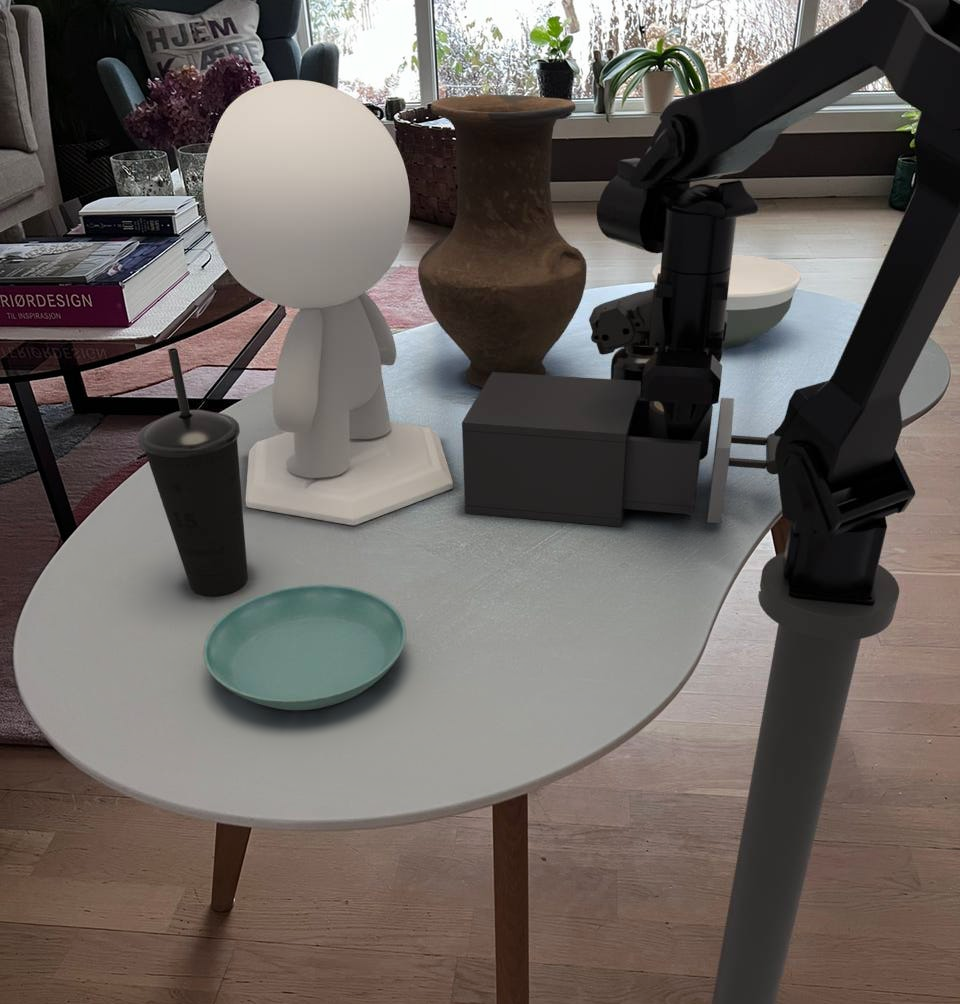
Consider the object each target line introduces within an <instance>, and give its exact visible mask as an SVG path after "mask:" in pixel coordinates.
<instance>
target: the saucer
mask: <svg viewBox="0 0 960 1004" xmlns="http://www.w3.org/2000/svg"><path fill="white" fill-rule="evenodd" d="M406 640H407V628H406V624H405V620H404V619H403V617H402V616H401V613H399V611H398V610H397V609H396V608H395V607H394V606H393V605H392V604H391V603H390V602H388V601H387V600H386V599H385V598H382V597H380V596H378V595H376V594H374V593H371V592H369V591H366V590H363V589H359V588H356V587H351V586H343V585H339V584H306V585H297V586H296V585H295V586H290V587H285V588H281V589H276V590H273V591H272V590H271V591H270V592H267V593H263V594H261V595H258V596H255V597H252V598H251V599H248V600H246V601H244V602H243V603H241V604H240V603H239V604H238V605H237V606H235V607H233V608H232V609H230V610H229V611H228V612H227V613H225V614H224V615H223V616H222V617H220V619H219V620H217V622H216V623H215V624H214V625H213V626H212V627H211V629H210V630H209V632H208V634H207V635H206V638H205V640H204V643H203V649H202V654H203V655H202V656H203V661H204V663H205V666H206V669H207V671H208V672H209V673H210V675H211V676H212V678H214V680H215V681H217V682H218V683H219V684H220V685H222V686H223V687H225V688H226V689H227V690H228V691H230V692H232V693H234V694H235V695H237V696H238V697H241V698H243V699H245V700H247V701H249V702H252V703H255V704H258V705H262V706H265V707H269V708H273V709H278V710H285V711H308V710H309V711H310V710H317V709H323V708H327V707H332V706H334V705H336V704H337V705H338V704H340V703H343V702H346V701H348V700H350V699H352V698H354V697H356V696H358V695H359V694H361V693H363V692H364V691H366V690H367V689H369V688H370V687H372V686H373V685H375V684H376V683H377V682H379V680H380V679H381V678H382V677H384V675H386V673H387V672H389V670H390V669H391V668H392V667H393V666H394V664H395V663H396V662H397V660H398V659H399V657H400V655H401V654H402V652H403V649H404V647H405V644H406Z"/></svg>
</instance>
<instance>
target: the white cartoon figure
mask: <svg viewBox="0 0 960 1004" xmlns="http://www.w3.org/2000/svg"><path fill="white" fill-rule="evenodd" d="M404 162H405V161H404V159H403V157H402V154H401V153H400V150H399V148H398V146H397V144H396V141H395V140H394V138H393V137H392V135H391V133H390V132H389V131H388V130H387V128H386V127H385V125H384V124H383V123H382V121H381V120H380V119H379V118H378V117H377V115H375V113H374V112H372V111H371V110H370V109H369V108H368V107H367V106H366V105H364V104H363V103H362V102H361V101H359V100H358V99H356V98H355V97H354V96H351V95H350V94H349V93H347V92H344V91H343V90H341V89H338V88H336V87H333V86H331V85H327V84H325V83H320V82H317V81H313V80H312V81H311V80H305V79H304V80H303V79H285V80H277V81H272V82H268V83H264V84H261V85H259V86H255V87H254V88H251V89H249V90H247V91H245V92H244V93H242V94H241V95H239V96H238V97H237V98H235V100H234V101H232V102H231V103H230V104H229V105H228V106H227V108H226V109H225V111H224V112H223V113H222V115H221V117H220V119H219V121H218V123H217V126H216V128H215V130H214V133H213V135H212V140H211V143H210V145H209V147H208V150H207V154H206V158H205V163H204V169H203V181H202V182H203V183H202V189H203V191H202V192H203V205H204V212H205V217H206V221H207V225H208V228H209V231H210V233H211V236H212V239H213V241H214V243H215V246H216V249H217V251H218V253H219V256H220V258H221V260H222V263H224V266H225V267H226V269H227V270H228V271H229V273H230V275H231V276H232V277H233V278H234V279H235V280H236V282H238V283H239V284H240V285H241V286H242V287H243V288H245V289H246V290H247V291H249V292H250V293H251V294H253V295H255V296H257V297H259V298H260V299H263V300H265V301H267V302H270V303H272V304H275V305H279V306H282V307H285V308H286V307H287V308H291V309H298V310H299V311H298V312H297V313H296V314H295V316H294V317H293V319H292V321H291V322H290V324H289V326H288V329H287V332H286V334H285V337H284V340H283V342H282V346H281V350H280V353H279V357H278V360H277V365H276V370H275V374H274V379H273V384H272V385H273V386H272V393H271V394H272V395H271V396H272V397H271V398H272V402H271V403H272V415H273V420H274V422H275V425H276V427H278V429H279V430H281V431H284V432H283V433H280V434H277V435H274V436H271V437H268V438H265V439H262V440H258V441H255V443H254V445H252V447H251V449H250V450H249V452H248V461H247V475H246V476H247V477H246V489H245V490H246V491H245V506H246V508H250V509H254V510H261V511H267V512H273V513H278V514H284V515H289V516H290V515H291V516H295V517H301V518H306V519H314V520H318V521H325V522H330V523H337V524H343V525H348V526H357V525H360V524H362V523H365V522H368V521H370V520H373V519H376V518H379V517H381V516H384V515H386V514H390V513H392V512H394V511H397V510H400V509H402V508H405V507H407V506H410V505H413V504H416V503H418V502H421V501H424V500H426V499H429V498H431V497H434V496H437V495H440V494H442V493H444V492H448V491H449V490H452V489H453V488H454V482H453V478H452V475H451V472H450V468H449V465H448V461H447V459H446V455H445V452H444V449H443V448H444V447H443V445H442V442H441V438H440V436H439V434H437V432H435V430H434V429H432V428H431V427H429V426H422V425H416V424H411V423H410V424H409V423H403V422H394V421H391V419H390V413H389V407H388V402H387V396H386V391H385V386H384V380H383V372H382V371H383V370H382V366H394V365H395V363H396V359H397V348H396V342H395V338H394V335H393V332H392V330H391V327H390V326H389V323H388V321H387V320H386V317H385V316H384V314H383V312H382V311H381V310H380V308H379V307H378V305H377V304H376V302H375V301H374V300H373V298H371V297H370V295H368V294H367V293H366V292H367V291H368V290H369V291H370V289H371V288H372V287H374V286H375V285H376V284H378V282H379V281H380V280H381V279H382V278H383V277H384V276H385V275H386V274H387V272H388V271H389V270H390V269H391V267H392V265H393V264H394V262H395V261H396V259H397V257H398V255H399V254H400V251H401V249H402V247H403V244H404V241H405V239H406V236H407V231H408V226H409V221H410V215H411V214H410V213H411V191H410V190H411V189H410V183H409V178H408V173H407V169H406V166H405V163H404Z"/></svg>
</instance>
